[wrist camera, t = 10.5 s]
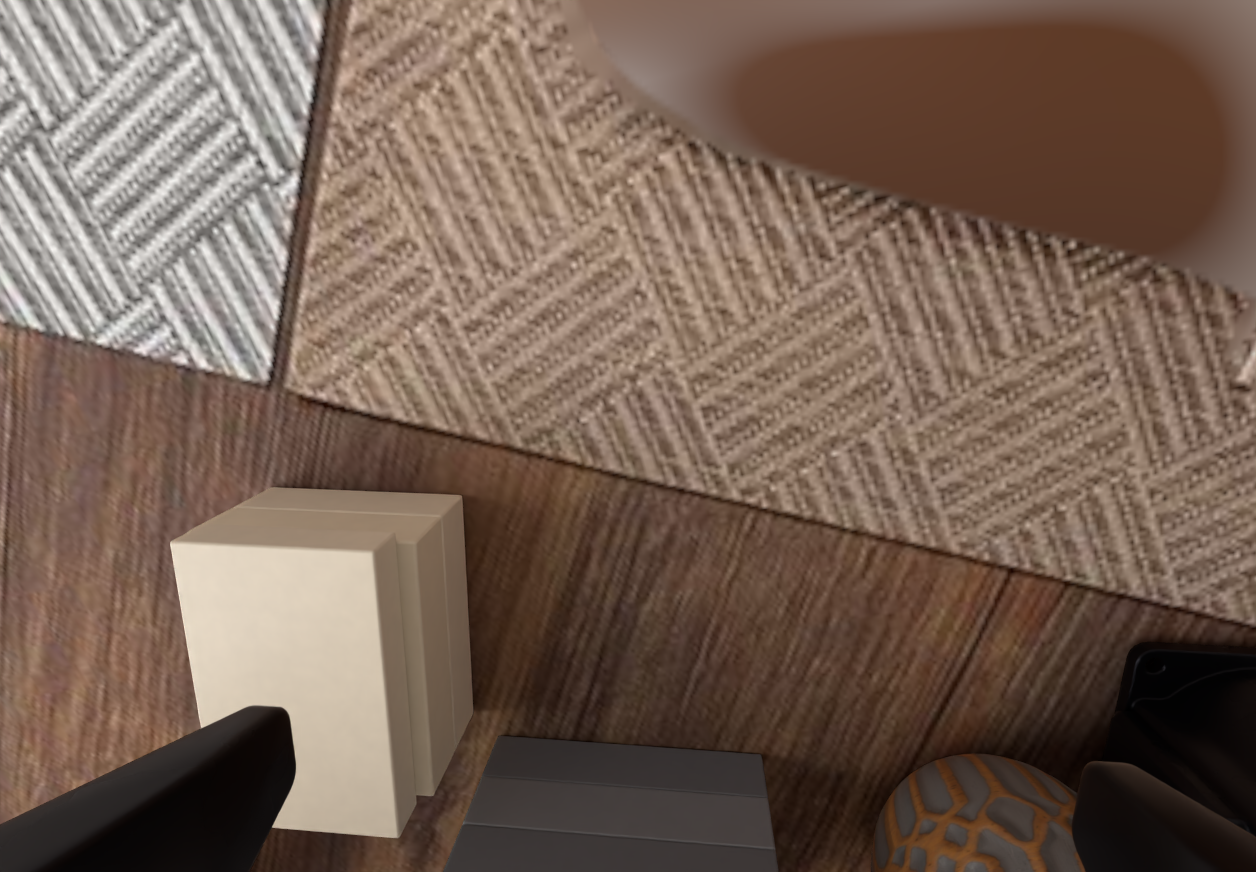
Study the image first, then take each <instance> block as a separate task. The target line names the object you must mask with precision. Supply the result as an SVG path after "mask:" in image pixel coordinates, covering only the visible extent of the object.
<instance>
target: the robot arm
mask: <svg viewBox="0 0 1256 872" xmlns="http://www.w3.org/2000/svg"><path fill="white" fill-rule="evenodd" d="M1151 658H1155V660H1154V662H1153V663H1151V664H1150V665H1145V664H1146V663H1147V661H1148V660H1150V659H1151ZM295 775H296V759H295V751H294V744H293V736H292V729H291V721H290V716H289V714H288V712H287V711H286V710H285V709H284V708H282V707H277V706H262V705H252V706H248V707H245V708H243V709H241V710H239V711H237V712H235V713H233V714H230V715H228V716H226V717H224V718H222V719H220V720H218V721H216V722H214V723H212V724H209V725H207V726H205V727H203V728H201V729H199V730H197V731H195V732H193V733H191V734H189V735H186V736H184V737H182V738H180V739H178V740H176V741H174V742H172V743H170V744H168V745H166V746H163V747H161V748H159V749H157V750H155V751H153V752H151V753H149V754H147V755H145V756H143V757H140V758H138V759H136V760H134V761H132V762H130V763H128V764H126V765H124V766H122V767H120V768H117V769H115V770H113V771H111V772H109V773H107V774H105V775H103V776H101V777H99V778H96V779H94V780H92V781H90V782H88V783H86V784H84V785H82V786H80V787H78V788H76V789H73V790H71V791H69V792H67V793H65V794H63V795H61V796H59V797H57V798H55V799H53V800H50V801H48V802H46V803H44V804H42V805H40V806H38V807H36V808H34V809H32V810H30V811H27V812H25V813H23V814H21V815H19V816H17V817H15V818H13V819H11V820H9V821H6V822H4V823H2V824H0V872H250V870H251V868H252V866H253V864H254V862H255V860H256V858H257V856H258V854H259V852H260V850H261V848H262V846H263V844H264V842H265V840H266V838H267V836H268V834H269V832H270V830H271V828H272V826H273V824H274V822H275V820H276V818H277V816H278V814H279V812H280V810H281V808H282V806H283V804H284V802H285V800H286V798H287V796H288V794H289V792H290V790H291V788H292V786H293V783H294V779H295ZM1072 836H1073V841H1074V845H1075V848H1076V851H1077V853H1078V856H1079V858H1080V860H1081V862H1082V865H1083V867H1084V869H1085V872H1256V648H1251V647H1233V646H1214V645H1196V644H1178V643H1160V642H1144V643H1140V644H1138V645H1136V646H1134V647H1133V648H1132V649H1131V650H1130V651H1129V653H1128V656H1127V659H1126V664H1125V668H1124V673H1123V677H1122V682H1121V687H1120V691H1119V696H1118V700H1117V705H1116V710H1115V714H1114V716H1113V717H1112V719H1111V723H1110V728H1109V733H1108V737H1107V742H1106V747H1105V751H1104V756H1103V760H1102V761H1092V762H1089V763H1088V764H1086V766H1085V767H1084V768H1083V771H1082V774H1081V779H1080V784H1079V789H1078V794H1077V799H1076V804H1075V809H1074V814H1073V819H1072Z"/></svg>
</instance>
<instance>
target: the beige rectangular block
mask: <svg viewBox="0 0 1256 872" xmlns="http://www.w3.org/2000/svg"><path fill="white" fill-rule="evenodd" d="M203 524H220V525H242V526H264V527H286V528H307V529H329V530H351V531H373V532H393V533H395V538H396V550H397V563H398V575H399V588H400V601H401V613H402V626H403V639H404V651H405V664H406V676H407V689H408V702H409V714H410V727H411V740H412V752H413V765H414V777H415V790H416V795H421V796H433V795H434V794H435V791H436V789H437V787H438V785H439V783H440V781H441V779H442V777H443V775H444V773H445V771H446V769H447V767H448V765H449V763H450V761H451V758H452V756H453V754H454V752H455V749H456V748H457V746H458V744H459V742H460V740H461V738H462V736H463V734H464V731H465V729H466V727H467V725H468V723H469V721H470V719H471V717H472V715H473V693H472V674H471V655H470V635H469V616H468V597H467V578H466V558H465V539H464V520H463V500H462V496H461V495H448V494H424V493H399V492H375V491H351V490H326V489H302V488H278V487H271V488H269V489H267V490H265V491H263V492H262V493H260V494H258V495H256V496H254V497H252V498H250V499H248V500H246V501H245V502H243V503H241V504H239V505H237V506H235V507H234V508H231V509H229V510H227V511H225V512H224V513H222V514H220V515H218V516H216V517H214V518H212V519H210V520H208V521H207V522H205V523H203ZM203 524H201V525H203ZM201 525H199V526H201ZM199 526H197V527H199ZM197 527H195V528H197ZM195 528H193V529H195ZM193 529H191V530H193ZM191 530H190V531H191ZM190 531H188V532H190Z"/></svg>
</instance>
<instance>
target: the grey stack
mask: <svg viewBox="0 0 1256 872" xmlns="http://www.w3.org/2000/svg"><path fill="white" fill-rule="evenodd" d="M443 872H779V870H778V863H777V857H776V852H775V843H774V836H773V829H772V822H771V815H770V808H769V802H768V794H767V788H766V781H765V774H764V767H763V760H762V755H760V754H748V753H734V752H720V751H706V750H692V749H678V748H664V747H650V746H636V745H622V744H608V743H594V742H580V741H566V740H552V739H538V738H524V737H510V736H498V738H497V740H496V743H495V745H494V748H493V750H492V752H491V755H490V757H489V760H488V762H487V765H486V767H485V770H484V772H483V774H482V777H481V780H480V782H479V785H478V787H477V789H476V792H475V794H474V797H473V799H472V802H471V804H470V807H469V809H468V811H467V814H466V816H465V819H464V821H463V825H462V827H461V829H460V831H459V834H458V836H457V839H456V841H455V844H454V846H453V849H452V851H451V853H450V856H449V858H448V861H447V863H446V866H445V868H444V871H443Z"/></svg>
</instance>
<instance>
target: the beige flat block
mask: <svg viewBox="0 0 1256 872" xmlns="http://www.w3.org/2000/svg"><path fill="white" fill-rule="evenodd" d="M170 545H171V551H172V557H173V563H174V569H175V575H176V581H177V587H178V593H179V599H180V605H181V611H182V617H183V623H184V629H185V635H186V641H187V647H188V653H189V659H190V665H191V671H192V677H193V683H194V689H195V695H196V700H197V706H198V712H199V718H200V724H201V728H203V727H205V726H207V725H209V724H212V723H214V722H216V721H218V720H220V719H222V718H224V717H226V716H228V715H230V714H233V713H235V712H237V711H239V710H241V709H243V708H245V707H248V706H252V705H262V706H277V707H282V708H284V709H285V710H286V711H287V712H288V714H289V716H290V721H291V729H292V736H293V744H294V751H295V759H296V775H295V779H294V783H293V786H292V788H291V790H290V792H289V794H288V796H287V798H286V800H285V802H284V804H283V806H282V808H281V810H280V812H279V814H278V816H277V818H276V820H275V822H274V824H273V826H272V828H282V829H294V830H306V831H317V832H329V833H341V834H353V835H364V836H376V837H388V838H399V837H400V836H401V834H402V832H403V830H404V828H405V826H406V824H407V822H408V820H409V818H410V816H411V814H412V812H413V810H414V808H415V806H416V790H415V777H414V765H413V752H412V740H411V727H410V714H409V702H408V689H407V676H406V664H405V651H404V639H403V626H402V613H401V601H400V588H399V575H398V563H397V550H396V538H395V533H393V532H373V531H351V530H329V529H307V528H286V527H264V526H242V525H220V524H203V525H201V526H199V527H197V528H195V529H193V530H191V531H190V532H188V533H186V534H184V535H182V536H180V537H178V538H176V539H175V540H173V541H171V543H170Z"/></svg>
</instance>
